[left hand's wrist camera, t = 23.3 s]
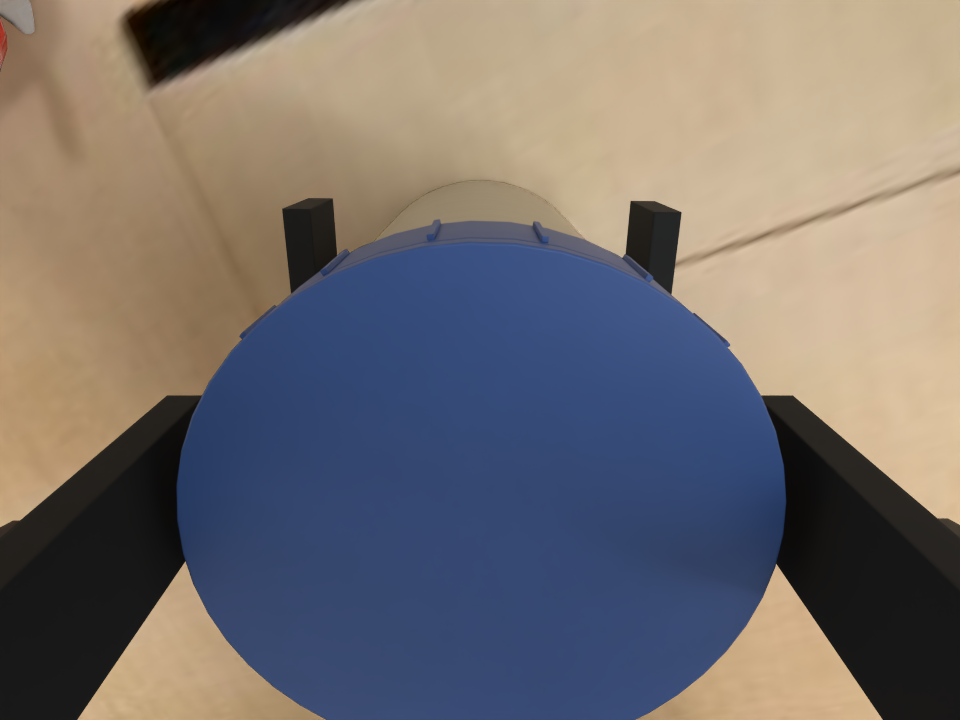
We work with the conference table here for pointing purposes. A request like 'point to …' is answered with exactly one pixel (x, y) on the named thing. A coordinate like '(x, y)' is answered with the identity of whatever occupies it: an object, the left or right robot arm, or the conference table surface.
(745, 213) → the conference table surface
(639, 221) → the right robot arm
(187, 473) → the lid
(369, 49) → the conference table surface
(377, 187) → the conference table surface
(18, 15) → the fish
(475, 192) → the jar
